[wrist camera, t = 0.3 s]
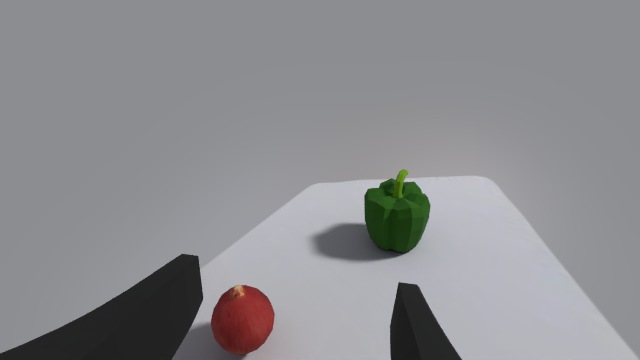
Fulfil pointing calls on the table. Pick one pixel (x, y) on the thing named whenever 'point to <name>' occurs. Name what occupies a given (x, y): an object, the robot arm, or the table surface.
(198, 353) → the table surface
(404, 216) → the bell pepper
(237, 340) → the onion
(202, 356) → the table surface
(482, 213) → the table surface
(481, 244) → the table surface
